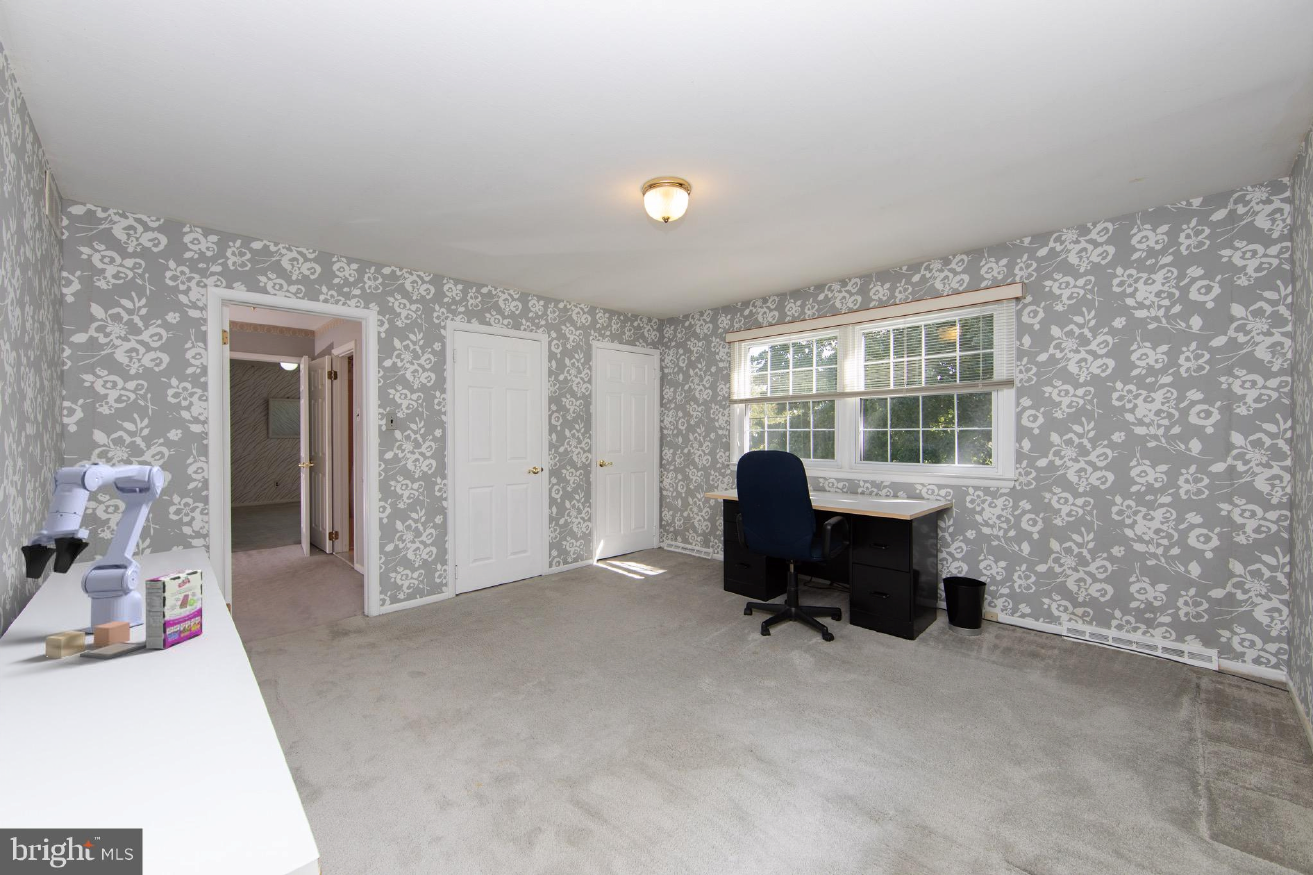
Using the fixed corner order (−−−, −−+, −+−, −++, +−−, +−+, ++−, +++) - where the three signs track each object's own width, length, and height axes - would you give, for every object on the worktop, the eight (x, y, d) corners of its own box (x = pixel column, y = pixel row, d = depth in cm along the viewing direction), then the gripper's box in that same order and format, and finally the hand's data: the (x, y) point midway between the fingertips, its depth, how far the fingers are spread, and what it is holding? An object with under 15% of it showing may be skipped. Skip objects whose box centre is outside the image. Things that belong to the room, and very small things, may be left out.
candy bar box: (183, 634, 145) (184, 569, 145) (203, 634, 145) (204, 569, 145) (143, 649, 134) (144, 579, 134) (164, 650, 134) (165, 579, 134)
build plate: (119, 644, 137) (119, 641, 137) (146, 646, 136) (146, 643, 136) (79, 656, 129) (80, 653, 129) (107, 659, 128) (108, 655, 128)
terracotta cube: (114, 639, 141) (115, 621, 141) (129, 640, 140) (129, 622, 140) (93, 645, 136) (94, 626, 136) (108, 647, 136) (109, 628, 136)
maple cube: (69, 650, 133) (69, 630, 133) (84, 651, 132) (84, 632, 133) (45, 657, 129) (45, 637, 129) (61, 658, 128) (61, 638, 128)
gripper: (19, 517, 130) (-3, 577, 124) (70, 506, 127) (50, 567, 122) (55, 524, 136) (37, 582, 130) (104, 514, 134) (88, 572, 128)
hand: (46, 575), depth 126 cm, fingers open, 7 cm apart
